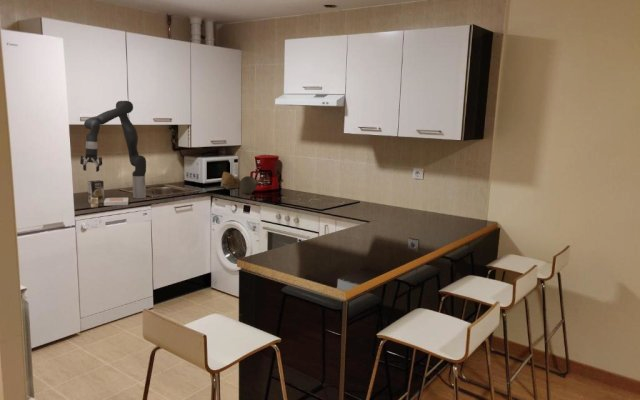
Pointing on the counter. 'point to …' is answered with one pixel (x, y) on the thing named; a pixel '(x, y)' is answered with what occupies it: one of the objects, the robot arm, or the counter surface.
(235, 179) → the rough brown rock
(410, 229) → the counter surface
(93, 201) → the maple block
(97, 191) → the coffee box
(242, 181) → the dark grey sphere
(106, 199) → the white base board
